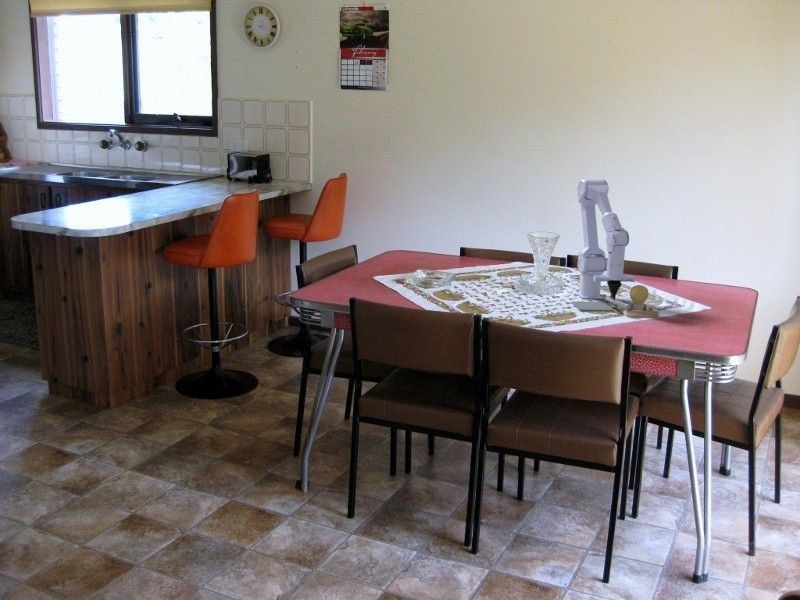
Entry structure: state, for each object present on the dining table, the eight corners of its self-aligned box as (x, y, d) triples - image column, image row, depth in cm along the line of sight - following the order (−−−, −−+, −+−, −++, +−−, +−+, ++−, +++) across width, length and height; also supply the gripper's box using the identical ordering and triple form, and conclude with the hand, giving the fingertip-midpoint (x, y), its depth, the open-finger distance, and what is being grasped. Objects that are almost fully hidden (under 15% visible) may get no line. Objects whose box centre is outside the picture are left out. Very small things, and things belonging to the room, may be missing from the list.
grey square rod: (604, 300, 305) (605, 295, 305) (609, 300, 306) (609, 295, 305) (627, 310, 291) (627, 305, 290) (631, 310, 291) (632, 305, 291)
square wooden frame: (617, 308, 303) (617, 303, 302) (647, 309, 303) (648, 303, 303) (626, 316, 292) (627, 310, 291) (657, 316, 292) (658, 311, 292)
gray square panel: (571, 302, 310) (571, 301, 310) (604, 303, 311) (604, 302, 311) (579, 310, 299) (579, 309, 298) (613, 311, 299) (613, 309, 299)
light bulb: (650, 314, 296) (653, 286, 294) (637, 315, 293) (639, 287, 291) (637, 310, 302) (639, 282, 299) (624, 311, 299) (626, 284, 296)
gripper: (598, 265, 297) (595, 303, 300) (639, 266, 298) (635, 303, 301) (593, 262, 304) (590, 299, 307) (632, 262, 305) (629, 299, 308)
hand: (612, 301), depth 304 cm, fingers closed, pressing on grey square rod
